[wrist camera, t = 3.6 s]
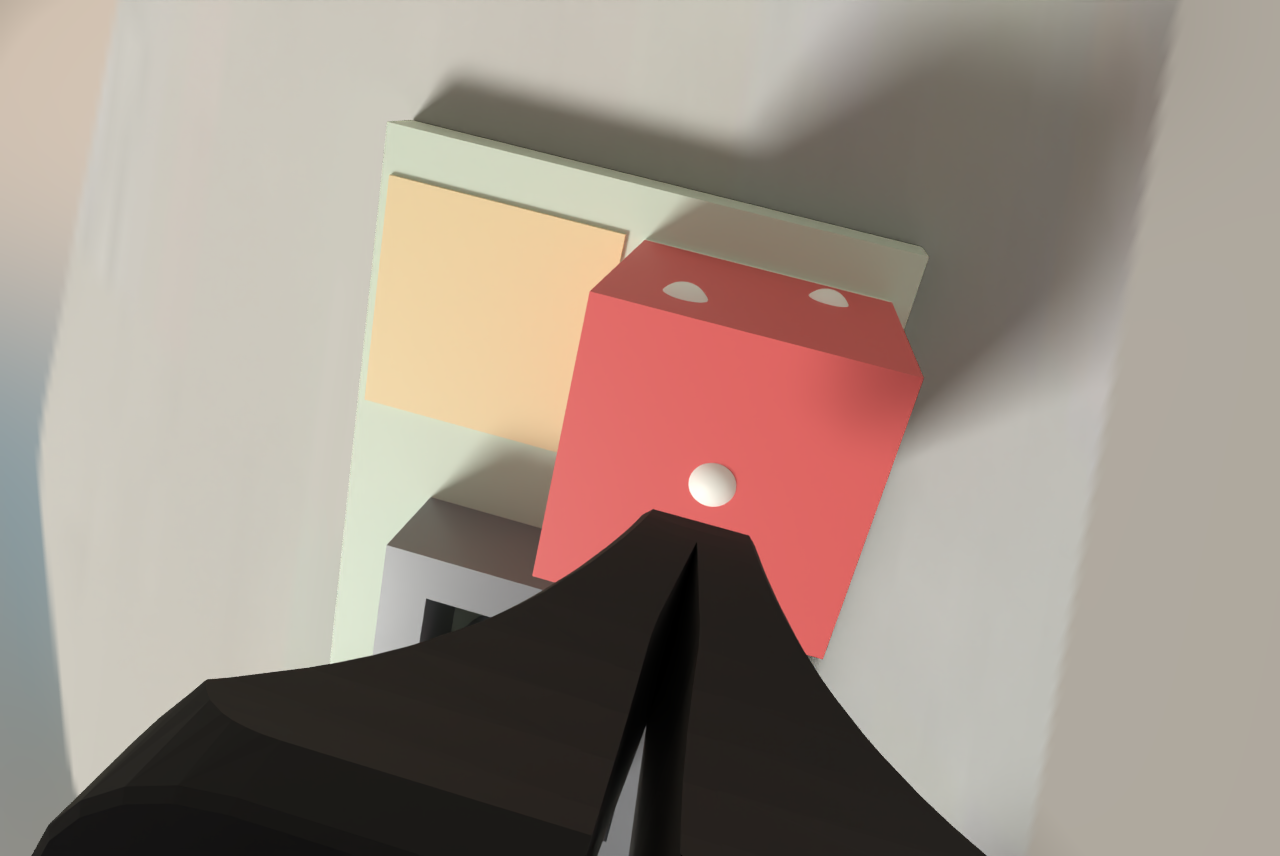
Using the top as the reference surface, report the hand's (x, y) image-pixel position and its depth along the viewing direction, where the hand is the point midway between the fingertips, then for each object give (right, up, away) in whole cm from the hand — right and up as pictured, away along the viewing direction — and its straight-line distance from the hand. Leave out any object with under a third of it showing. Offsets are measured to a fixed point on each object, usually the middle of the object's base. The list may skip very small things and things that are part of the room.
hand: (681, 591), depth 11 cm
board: (-2, 0, +11) cm, 11 cm away
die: (+1, +3, +8) cm, 8 cm away
